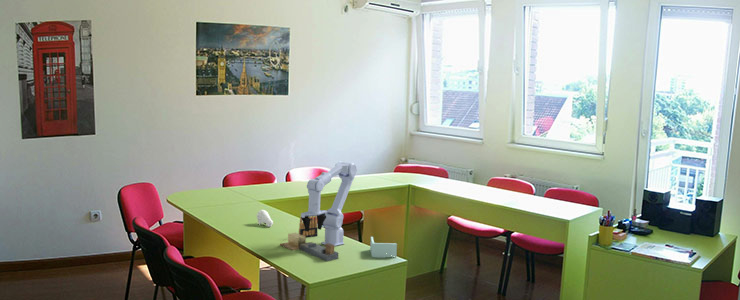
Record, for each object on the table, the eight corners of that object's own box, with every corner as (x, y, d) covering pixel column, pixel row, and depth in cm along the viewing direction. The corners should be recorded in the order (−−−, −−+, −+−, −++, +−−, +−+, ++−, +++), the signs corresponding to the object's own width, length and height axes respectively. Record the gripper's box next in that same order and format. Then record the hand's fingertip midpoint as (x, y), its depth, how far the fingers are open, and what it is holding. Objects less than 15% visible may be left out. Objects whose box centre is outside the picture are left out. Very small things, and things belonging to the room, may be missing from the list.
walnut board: (299, 241, 298) (299, 240, 298) (311, 246, 290) (311, 244, 290) (279, 245, 290) (279, 243, 290) (292, 250, 282) (292, 248, 282)
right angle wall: (396, 258, 277) (396, 243, 276) (371, 258, 276) (372, 243, 275) (393, 251, 289) (394, 237, 288) (370, 251, 288) (370, 236, 287)
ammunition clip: (299, 238, 303) (300, 216, 302) (298, 237, 305) (298, 215, 304) (317, 236, 309) (318, 214, 308) (316, 235, 311) (316, 214, 309)
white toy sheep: (265, 208, 332) (276, 214, 324) (264, 222, 334) (275, 228, 326) (256, 209, 328) (267, 215, 320) (255, 223, 330) (266, 229, 321)
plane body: (311, 247, 288) (311, 234, 287) (338, 258, 272) (338, 244, 271) (299, 250, 283) (300, 236, 282) (326, 261, 267) (327, 247, 266)
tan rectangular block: (295, 241, 294) (295, 232, 293) (305, 246, 287) (305, 236, 287) (288, 243, 291) (288, 233, 290) (298, 247, 284) (298, 237, 284)
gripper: (321, 200, 288) (320, 226, 290) (297, 203, 279) (296, 230, 280) (329, 203, 283) (328, 229, 285) (306, 205, 274) (305, 233, 275)
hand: (313, 230), depth 282 cm, fingers open, 7 cm apart
